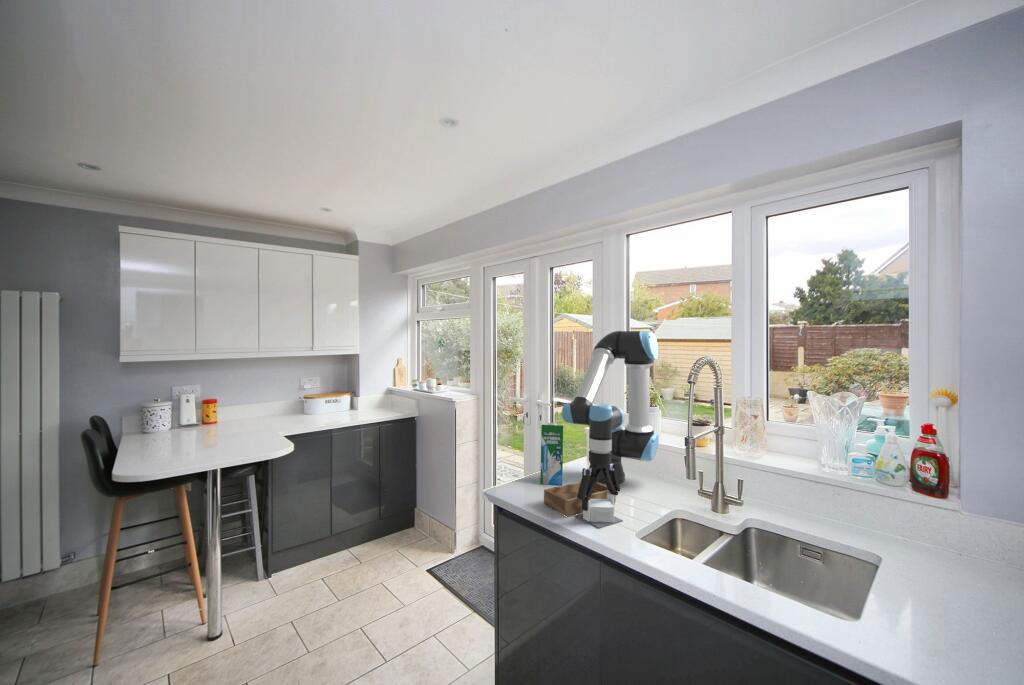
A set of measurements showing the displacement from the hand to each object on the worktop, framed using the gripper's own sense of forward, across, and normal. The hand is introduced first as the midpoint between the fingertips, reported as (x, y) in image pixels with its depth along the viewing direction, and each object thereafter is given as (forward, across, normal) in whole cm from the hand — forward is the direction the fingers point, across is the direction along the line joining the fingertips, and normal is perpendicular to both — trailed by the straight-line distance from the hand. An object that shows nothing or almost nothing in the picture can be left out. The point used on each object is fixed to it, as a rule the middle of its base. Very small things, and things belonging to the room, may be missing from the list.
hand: (598, 516), depth 144 cm
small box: (+1, 0, 0) cm, 1 cm away
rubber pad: (+1, 0, 0) cm, 1 cm away
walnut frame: (+1, -3, -13) cm, 13 cm away
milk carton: (+1, -10, -38) cm, 40 cm away
